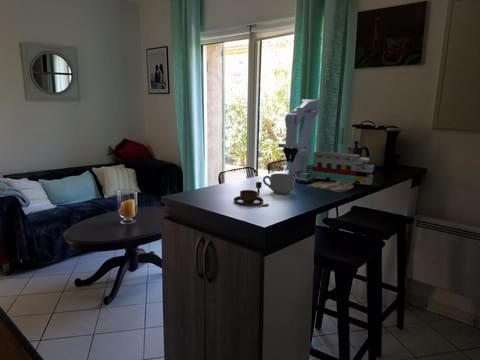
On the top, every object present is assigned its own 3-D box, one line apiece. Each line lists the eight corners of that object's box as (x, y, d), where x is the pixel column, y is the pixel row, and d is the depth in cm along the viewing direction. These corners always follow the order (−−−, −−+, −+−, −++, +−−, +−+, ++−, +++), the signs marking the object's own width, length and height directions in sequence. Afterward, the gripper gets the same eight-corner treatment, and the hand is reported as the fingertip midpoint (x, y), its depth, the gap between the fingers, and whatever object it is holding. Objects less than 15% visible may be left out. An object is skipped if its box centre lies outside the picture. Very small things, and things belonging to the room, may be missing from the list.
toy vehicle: (370, 187, 176) (373, 158, 173) (311, 180, 190) (313, 152, 186) (372, 184, 183) (375, 156, 180) (315, 177, 197) (317, 150, 194)
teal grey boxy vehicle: (294, 181, 183) (294, 171, 182) (300, 180, 188) (301, 170, 187) (306, 184, 179) (307, 173, 178) (312, 182, 184) (313, 172, 183)
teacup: (294, 191, 163) (295, 174, 161) (291, 197, 153) (292, 179, 151) (265, 188, 167) (266, 172, 165) (260, 193, 156) (261, 176, 155)
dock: (305, 187, 176) (305, 180, 175) (318, 183, 186) (318, 176, 185) (341, 194, 164) (342, 186, 163) (353, 189, 175) (353, 182, 174)
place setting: (222, 200, 145) (223, 187, 144) (257, 194, 158) (258, 181, 157) (252, 211, 132) (253, 196, 131) (287, 202, 146) (288, 189, 144)
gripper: (275, 135, 186) (274, 161, 189) (299, 138, 177) (298, 164, 180) (282, 135, 191) (281, 159, 194) (306, 137, 182) (304, 163, 185)
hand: (289, 162), depth 187 cm, fingers closed
